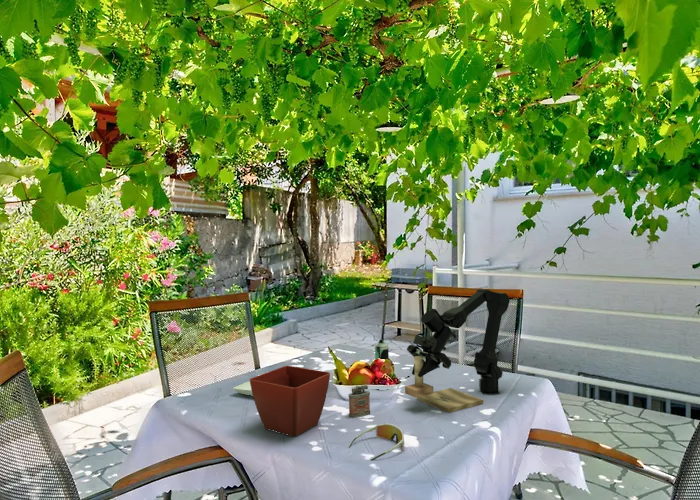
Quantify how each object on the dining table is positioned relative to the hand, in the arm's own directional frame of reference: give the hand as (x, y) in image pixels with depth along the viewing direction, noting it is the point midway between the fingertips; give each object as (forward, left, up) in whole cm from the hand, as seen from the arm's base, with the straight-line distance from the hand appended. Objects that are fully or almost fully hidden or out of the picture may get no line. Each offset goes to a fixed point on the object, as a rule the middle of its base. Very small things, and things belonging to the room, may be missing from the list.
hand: (415, 375), depth 170 cm
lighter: (+20, +5, -12) cm, 24 cm away
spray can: (+12, -25, -12) cm, 31 cm away
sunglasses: (+13, +31, -13) cm, 36 cm away
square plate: (+53, -21, -13) cm, 58 cm away
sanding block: (-1, -1, -7) cm, 7 cm away
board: (-13, -9, -12) cm, 20 cm away
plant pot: (+41, +16, -13) cm, 46 cm away
